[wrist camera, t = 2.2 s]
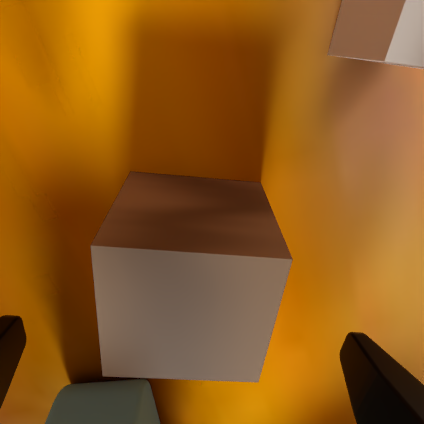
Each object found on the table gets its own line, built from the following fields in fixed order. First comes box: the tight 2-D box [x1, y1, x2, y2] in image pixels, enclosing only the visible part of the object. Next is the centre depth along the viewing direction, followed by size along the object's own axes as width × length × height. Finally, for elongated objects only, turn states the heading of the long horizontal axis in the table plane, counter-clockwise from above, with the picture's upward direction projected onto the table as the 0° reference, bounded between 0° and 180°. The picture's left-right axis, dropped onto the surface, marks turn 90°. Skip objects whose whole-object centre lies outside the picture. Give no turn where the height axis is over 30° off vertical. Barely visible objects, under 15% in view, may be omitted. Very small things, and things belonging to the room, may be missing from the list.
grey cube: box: [91, 172, 292, 382], centre depth 11 cm, size 5×5×5 cm
